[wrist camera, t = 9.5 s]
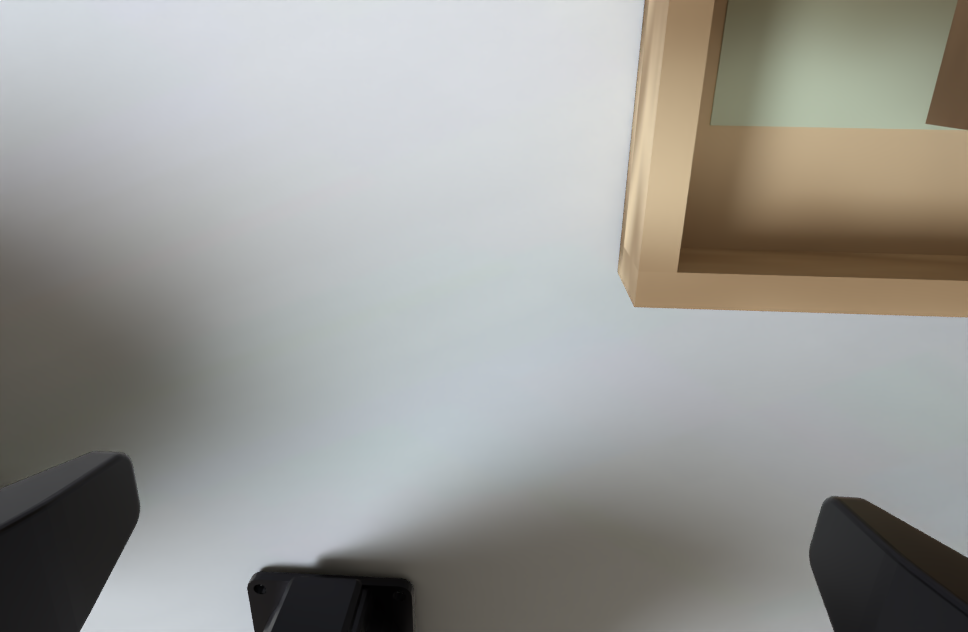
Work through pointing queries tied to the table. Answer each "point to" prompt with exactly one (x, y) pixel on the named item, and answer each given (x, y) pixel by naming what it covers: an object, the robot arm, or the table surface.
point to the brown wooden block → (953, 76)
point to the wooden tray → (795, 160)
